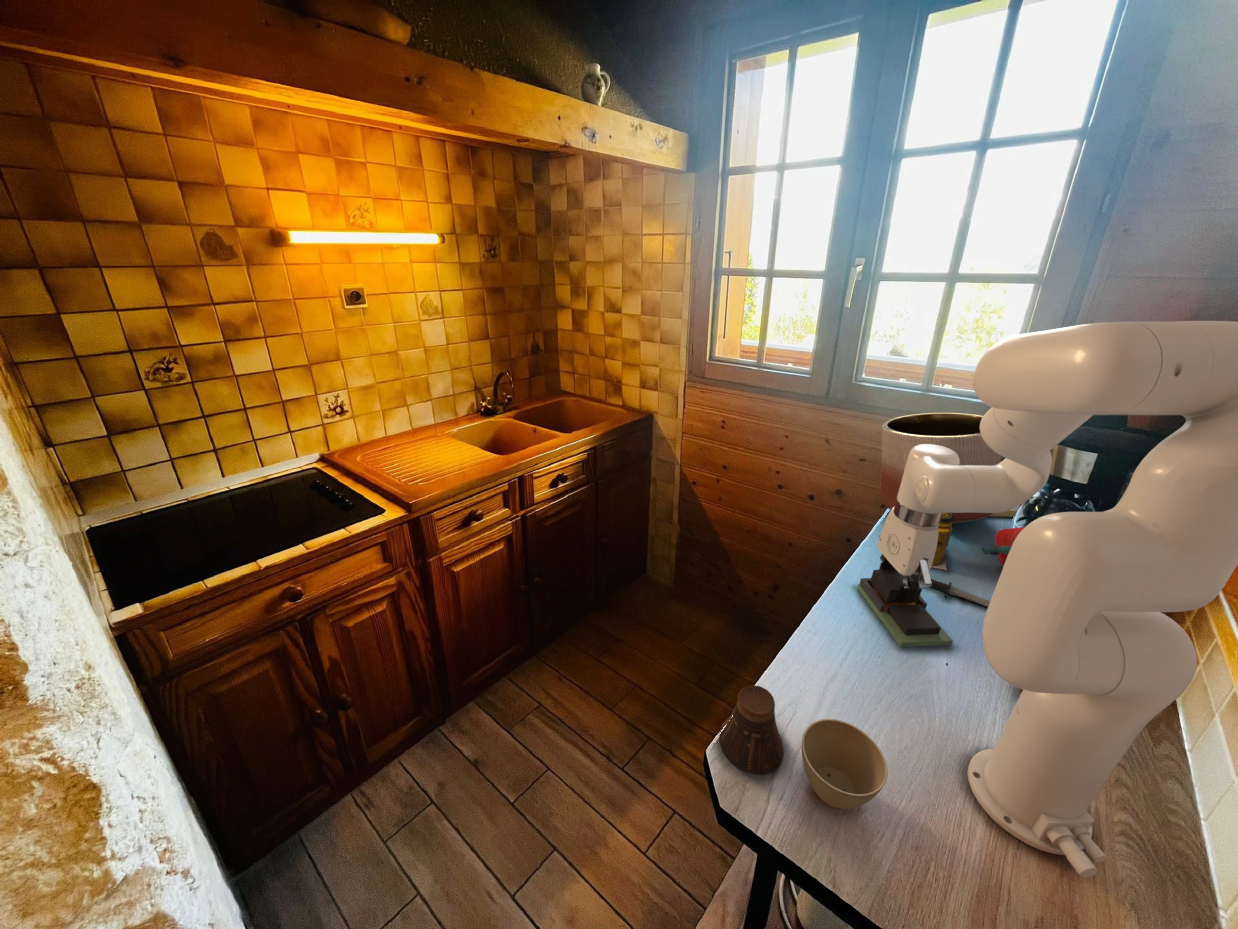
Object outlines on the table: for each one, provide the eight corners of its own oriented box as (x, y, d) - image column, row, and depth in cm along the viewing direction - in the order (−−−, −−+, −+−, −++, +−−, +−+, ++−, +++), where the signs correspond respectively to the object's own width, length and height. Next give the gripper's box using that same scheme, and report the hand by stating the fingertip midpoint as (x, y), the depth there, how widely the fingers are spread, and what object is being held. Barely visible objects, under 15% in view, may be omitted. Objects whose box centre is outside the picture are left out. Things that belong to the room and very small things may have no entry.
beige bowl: (780, 789, 65) (787, 754, 62) (814, 739, 71) (823, 705, 68) (856, 850, 58) (868, 814, 55) (886, 789, 65) (899, 754, 62)
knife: (1022, 605, 94) (1020, 619, 91) (1018, 612, 95) (1016, 627, 91) (911, 564, 105) (905, 576, 102) (908, 572, 106) (903, 583, 102)
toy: (1046, 570, 112) (963, 577, 111) (1036, 526, 114) (954, 532, 113) (1127, 572, 95) (1030, 580, 94) (1113, 520, 97) (1018, 527, 96)
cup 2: (814, 715, 65) (794, 757, 70) (763, 664, 71) (748, 706, 76) (769, 749, 60) (751, 791, 66) (719, 692, 67) (706, 734, 72)
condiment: (908, 562, 109) (922, 516, 104) (908, 542, 116) (921, 498, 111) (946, 571, 106) (962, 524, 101) (943, 551, 113) (958, 506, 108)
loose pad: (917, 602, 94) (922, 589, 92) (886, 603, 93) (890, 590, 92) (899, 581, 99) (903, 568, 98) (870, 582, 99) (873, 569, 98)
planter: (906, 483, 144) (908, 409, 137) (1012, 501, 124) (1021, 415, 117) (862, 511, 130) (862, 430, 123) (974, 536, 110) (981, 442, 103)
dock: (951, 645, 87) (955, 634, 86) (900, 647, 87) (904, 636, 86) (900, 587, 101) (903, 576, 100) (857, 588, 101) (859, 577, 100)
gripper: (873, 489, 96) (854, 563, 104) (926, 539, 80) (899, 622, 88) (910, 488, 96) (889, 562, 104) (970, 538, 81) (940, 621, 88)
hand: (894, 589), depth 96 cm, fingers closed on loose pad, 6 cm apart
